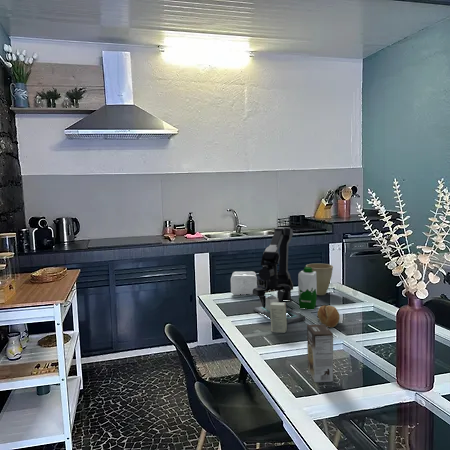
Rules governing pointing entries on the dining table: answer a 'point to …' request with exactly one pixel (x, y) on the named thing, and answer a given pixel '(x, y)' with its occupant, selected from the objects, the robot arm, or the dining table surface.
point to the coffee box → (320, 352)
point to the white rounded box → (243, 283)
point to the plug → (270, 301)
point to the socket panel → (294, 315)
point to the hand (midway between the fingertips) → (272, 306)
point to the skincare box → (278, 317)
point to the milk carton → (307, 288)
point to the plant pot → (322, 276)
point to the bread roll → (328, 315)
